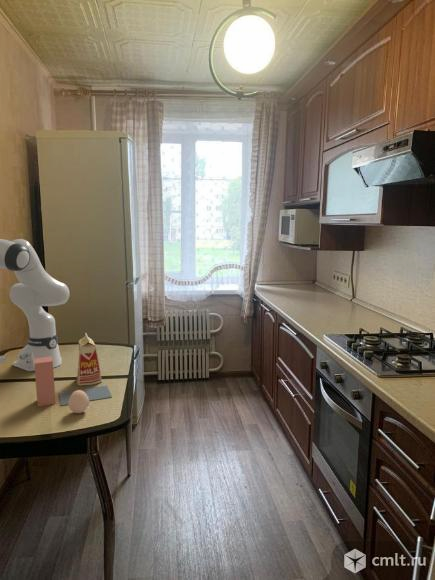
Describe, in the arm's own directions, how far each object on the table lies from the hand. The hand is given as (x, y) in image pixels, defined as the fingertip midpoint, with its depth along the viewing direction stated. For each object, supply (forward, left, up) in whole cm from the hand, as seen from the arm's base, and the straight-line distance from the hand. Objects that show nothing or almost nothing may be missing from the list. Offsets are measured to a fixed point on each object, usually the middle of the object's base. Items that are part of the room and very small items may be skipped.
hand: (5, 359), depth 142 cm
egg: (+25, +8, -18) cm, 32 cm away
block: (+8, +9, -18) cm, 22 cm away
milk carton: (+8, +31, -18) cm, 37 cm away
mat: (+17, +20, -18) cm, 31 cm away
